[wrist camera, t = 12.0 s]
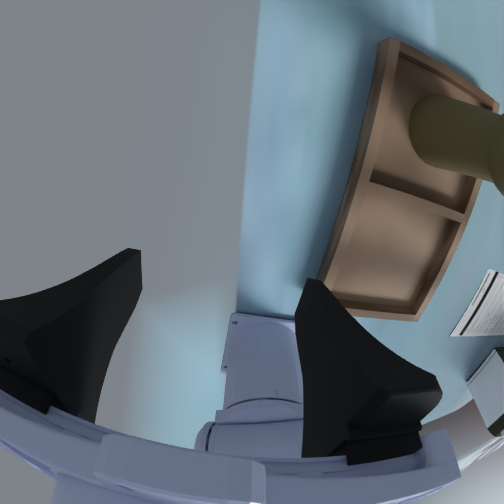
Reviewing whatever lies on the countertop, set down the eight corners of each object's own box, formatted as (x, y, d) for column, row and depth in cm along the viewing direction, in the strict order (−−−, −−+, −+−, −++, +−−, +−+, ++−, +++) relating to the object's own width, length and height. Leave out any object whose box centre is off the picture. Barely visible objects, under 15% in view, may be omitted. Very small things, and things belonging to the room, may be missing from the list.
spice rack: (410, 309, 26) (417, 321, 24) (309, 297, 25) (313, 311, 23) (485, 101, 15) (499, 103, 13) (379, 41, 14) (390, 36, 13)
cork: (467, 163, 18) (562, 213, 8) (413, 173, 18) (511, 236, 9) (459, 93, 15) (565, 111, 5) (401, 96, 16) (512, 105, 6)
